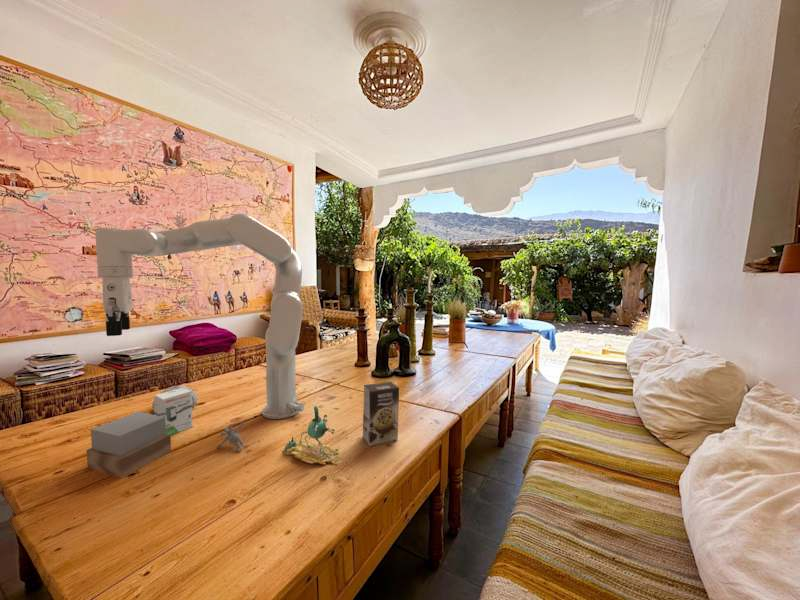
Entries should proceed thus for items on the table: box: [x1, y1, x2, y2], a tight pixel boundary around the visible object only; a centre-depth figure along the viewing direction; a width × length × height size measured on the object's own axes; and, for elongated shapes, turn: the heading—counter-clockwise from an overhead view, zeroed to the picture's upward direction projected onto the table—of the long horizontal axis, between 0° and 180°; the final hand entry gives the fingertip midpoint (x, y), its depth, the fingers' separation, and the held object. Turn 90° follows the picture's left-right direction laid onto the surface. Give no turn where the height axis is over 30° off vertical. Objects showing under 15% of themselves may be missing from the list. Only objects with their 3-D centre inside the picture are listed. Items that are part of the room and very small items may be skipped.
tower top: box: [90, 411, 166, 457], centre depth 85 cm, size 10×11×5 cm
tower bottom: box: [86, 434, 172, 479], centre depth 85 cm, size 12×12×5 cm
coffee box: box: [362, 381, 400, 447], centre depth 98 cm, size 9×6×16 cm
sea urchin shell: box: [151, 385, 199, 411], centre depth 116 cm, size 13×14×8 cm
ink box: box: [153, 388, 194, 436], centre depth 100 cm, size 9×5×12 cm, turn 151°
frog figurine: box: [282, 405, 344, 466], centre depth 88 cm, size 10×18×15 cm, turn 66°
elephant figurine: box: [216, 421, 246, 452], centre depth 92 cm, size 9×5×8 cm
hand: (118, 332), depth 95 cm, fingers open, 9 cm apart
